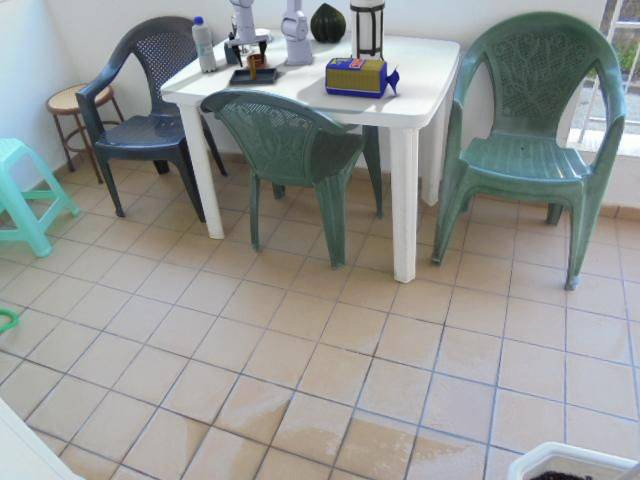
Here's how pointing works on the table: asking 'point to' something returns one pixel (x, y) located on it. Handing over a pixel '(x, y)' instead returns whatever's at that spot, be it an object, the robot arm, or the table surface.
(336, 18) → the squash
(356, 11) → the coffee press
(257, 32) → the mooncake
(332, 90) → the bread
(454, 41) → the table surface
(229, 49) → the vaping device
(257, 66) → the pen cup
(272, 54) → the table surface
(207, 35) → the bottle
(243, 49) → the beer glass
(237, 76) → the tray
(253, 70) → the marker
